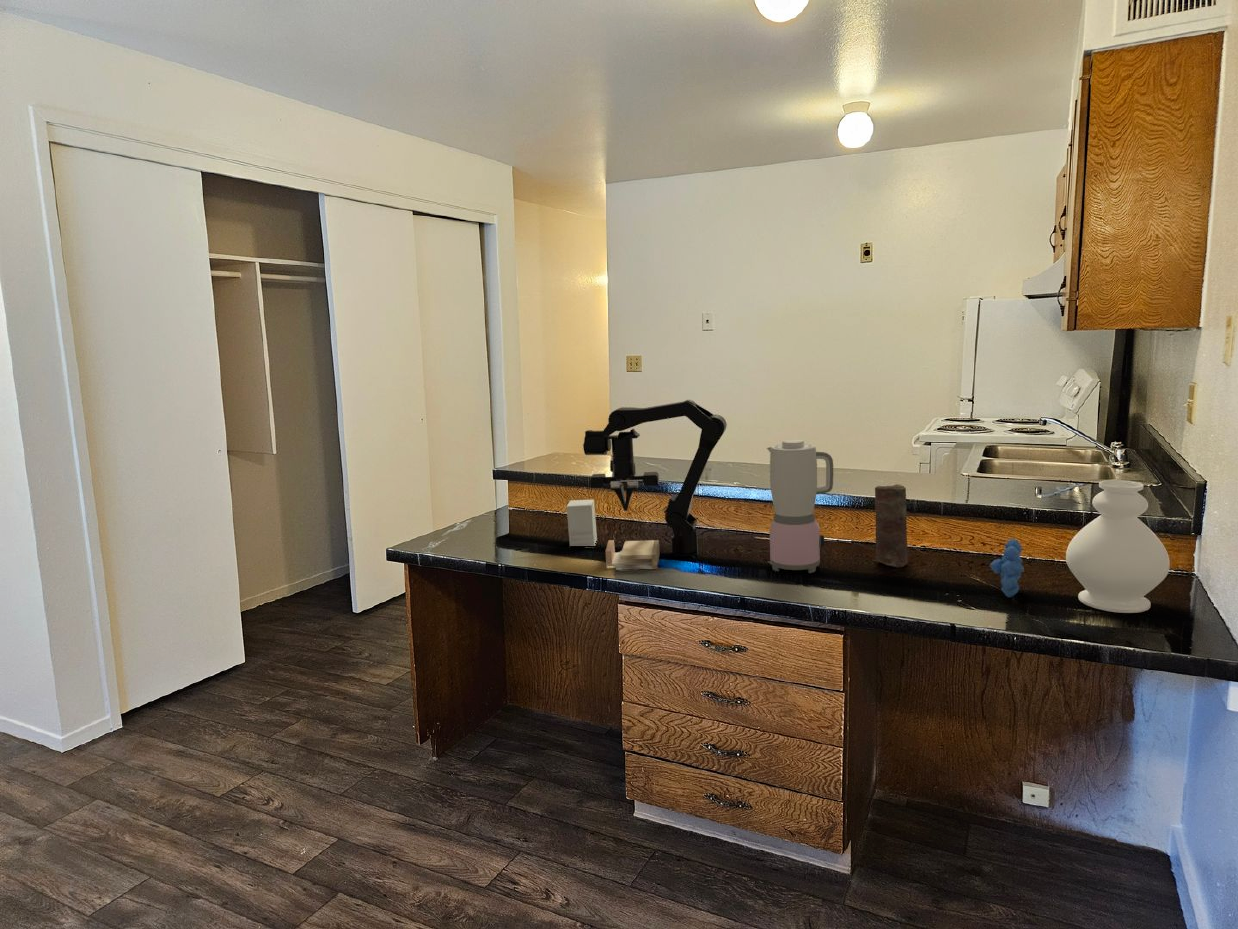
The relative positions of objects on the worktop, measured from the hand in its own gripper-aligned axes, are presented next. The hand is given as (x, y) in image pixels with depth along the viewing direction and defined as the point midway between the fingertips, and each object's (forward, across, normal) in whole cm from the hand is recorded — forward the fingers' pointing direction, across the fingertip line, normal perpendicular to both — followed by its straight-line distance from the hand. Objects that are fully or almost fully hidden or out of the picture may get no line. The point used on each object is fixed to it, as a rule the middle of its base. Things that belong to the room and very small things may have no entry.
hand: (626, 510), depth 209 cm
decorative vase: (+12, -105, +43) cm, 114 cm away
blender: (+12, -45, +16) cm, 49 cm away
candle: (+12, -67, +15) cm, 70 cm away
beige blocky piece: (+12, -1, +9) cm, 15 cm away
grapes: (+12, -86, +37) cm, 94 cm away
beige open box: (+12, -2, +9) cm, 15 cm away
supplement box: (+12, +14, -9) cm, 21 cm away
